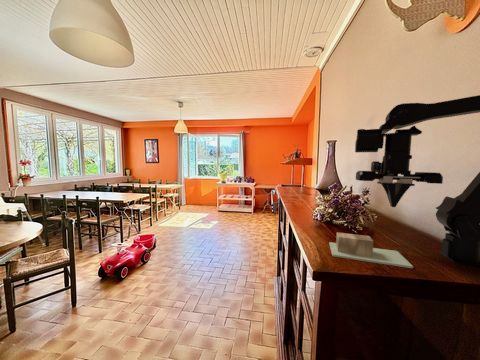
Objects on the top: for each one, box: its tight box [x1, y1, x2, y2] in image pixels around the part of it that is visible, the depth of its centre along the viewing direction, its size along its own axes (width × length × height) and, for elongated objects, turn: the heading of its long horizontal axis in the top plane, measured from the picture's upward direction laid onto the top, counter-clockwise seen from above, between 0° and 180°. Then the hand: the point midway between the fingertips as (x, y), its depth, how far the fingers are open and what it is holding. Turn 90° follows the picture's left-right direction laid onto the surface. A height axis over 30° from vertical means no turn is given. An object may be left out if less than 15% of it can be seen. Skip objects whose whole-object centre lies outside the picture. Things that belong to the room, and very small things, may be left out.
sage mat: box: [328, 241, 414, 269], centre depth 53 cm, size 17×9×1 cm, turn 71°
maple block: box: [335, 232, 374, 256], centre depth 54 cm, size 4×4×8 cm
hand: (392, 206), depth 57 cm, fingers closed
